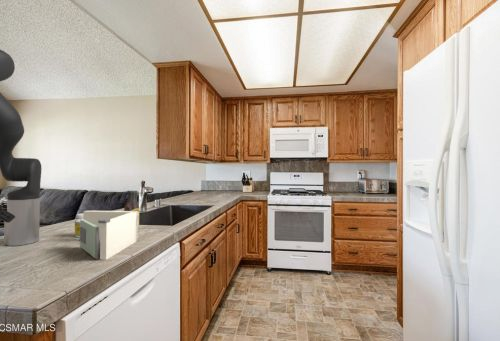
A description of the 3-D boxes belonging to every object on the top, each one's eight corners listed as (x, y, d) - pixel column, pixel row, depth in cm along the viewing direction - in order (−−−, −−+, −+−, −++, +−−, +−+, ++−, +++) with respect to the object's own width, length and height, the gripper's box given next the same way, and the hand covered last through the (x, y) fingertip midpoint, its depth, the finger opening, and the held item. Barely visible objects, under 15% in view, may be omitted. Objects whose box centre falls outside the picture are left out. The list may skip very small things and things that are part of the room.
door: (79, 246, 86) (79, 219, 86) (83, 245, 87) (83, 219, 87) (94, 259, 75) (94, 227, 75) (99, 257, 76) (99, 227, 76)
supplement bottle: (89, 233, 105) (90, 212, 105) (89, 236, 101) (89, 214, 101) (75, 235, 102) (75, 213, 102) (74, 238, 98) (74, 215, 98)
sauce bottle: (132, 237, 101) (133, 191, 101) (119, 236, 102) (120, 190, 102) (142, 233, 107) (142, 190, 107) (130, 232, 108) (130, 189, 108)
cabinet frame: (38, 259, 75) (38, 219, 75) (86, 239, 97) (86, 208, 97) (105, 260, 75) (105, 220, 75) (138, 240, 96) (138, 209, 96)
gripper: (-38, 164, 52) (33, 211, 63) (-50, 164, 59) (16, 206, 69) (-79, 189, 48) (5, 235, 58) (-88, 186, 54) (-11, 228, 65)
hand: (11, 219), depth 64 cm, fingers closed
